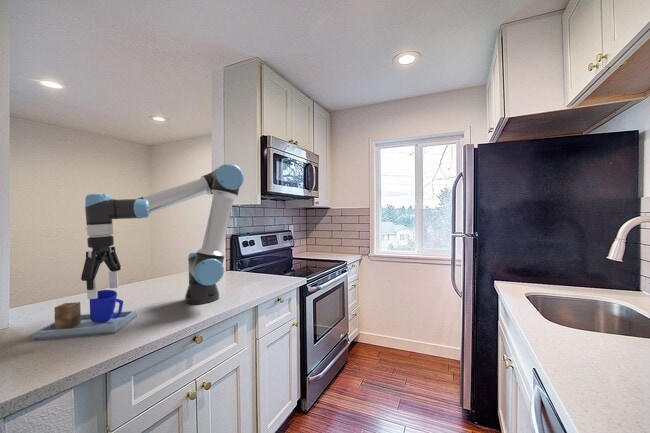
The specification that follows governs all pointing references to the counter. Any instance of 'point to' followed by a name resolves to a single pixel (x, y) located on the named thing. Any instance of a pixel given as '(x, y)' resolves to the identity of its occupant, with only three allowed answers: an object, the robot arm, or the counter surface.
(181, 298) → the counter surface
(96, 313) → the mug
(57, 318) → the walnut block
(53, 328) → the tray
